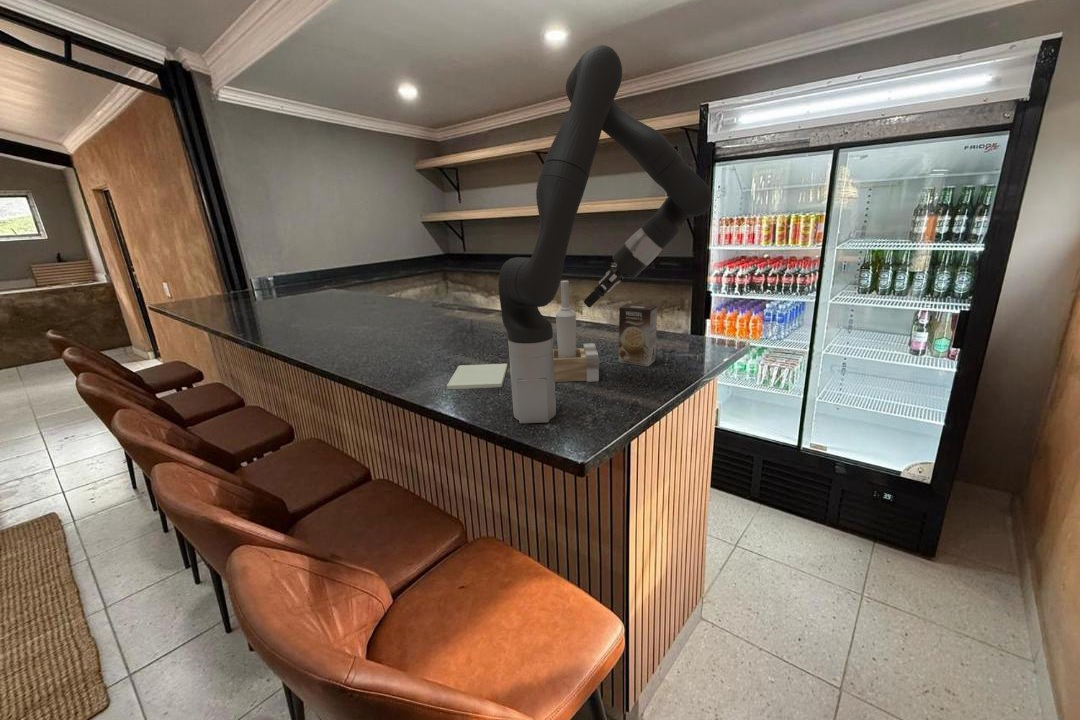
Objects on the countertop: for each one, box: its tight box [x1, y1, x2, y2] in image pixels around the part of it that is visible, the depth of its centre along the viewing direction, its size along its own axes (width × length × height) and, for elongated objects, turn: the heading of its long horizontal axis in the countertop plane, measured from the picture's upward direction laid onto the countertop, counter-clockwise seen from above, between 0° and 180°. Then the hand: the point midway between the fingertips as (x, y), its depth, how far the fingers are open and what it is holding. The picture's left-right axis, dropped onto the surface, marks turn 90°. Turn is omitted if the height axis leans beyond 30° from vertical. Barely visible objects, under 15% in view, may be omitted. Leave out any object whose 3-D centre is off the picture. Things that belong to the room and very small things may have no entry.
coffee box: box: [618, 302, 658, 367], centre depth 125 cm, size 9×6×16 cm
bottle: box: [555, 280, 577, 358], centre depth 116 cm, size 5×5×25 cm
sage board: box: [446, 363, 508, 390], centre depth 121 cm, size 16×14×1 cm
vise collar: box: [553, 342, 600, 383], centre depth 119 cm, size 12×15×7 cm
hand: (589, 301), depth 112 cm, fingers open, 8 cm apart
